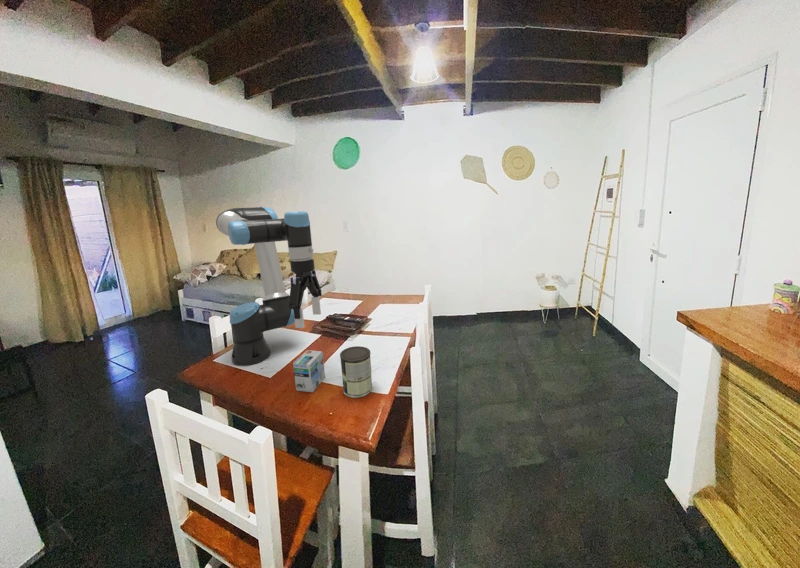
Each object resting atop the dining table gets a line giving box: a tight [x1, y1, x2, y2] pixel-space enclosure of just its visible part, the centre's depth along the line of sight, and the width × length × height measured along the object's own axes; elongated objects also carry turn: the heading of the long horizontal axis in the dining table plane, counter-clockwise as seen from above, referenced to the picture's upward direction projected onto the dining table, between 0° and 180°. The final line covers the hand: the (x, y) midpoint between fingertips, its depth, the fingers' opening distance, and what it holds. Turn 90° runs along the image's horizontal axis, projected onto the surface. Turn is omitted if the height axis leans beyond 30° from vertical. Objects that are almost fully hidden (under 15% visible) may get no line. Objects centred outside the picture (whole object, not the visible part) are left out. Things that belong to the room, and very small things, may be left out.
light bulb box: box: [292, 349, 326, 393], centre depth 113 cm, size 11×7×11 cm, turn 168°
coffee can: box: [339, 345, 373, 399], centre depth 108 cm, size 10×10×14 cm
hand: (309, 320), depth 108 cm, fingers open, 13 cm apart
